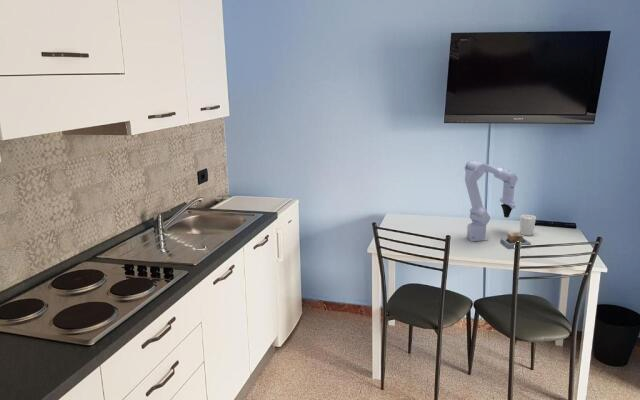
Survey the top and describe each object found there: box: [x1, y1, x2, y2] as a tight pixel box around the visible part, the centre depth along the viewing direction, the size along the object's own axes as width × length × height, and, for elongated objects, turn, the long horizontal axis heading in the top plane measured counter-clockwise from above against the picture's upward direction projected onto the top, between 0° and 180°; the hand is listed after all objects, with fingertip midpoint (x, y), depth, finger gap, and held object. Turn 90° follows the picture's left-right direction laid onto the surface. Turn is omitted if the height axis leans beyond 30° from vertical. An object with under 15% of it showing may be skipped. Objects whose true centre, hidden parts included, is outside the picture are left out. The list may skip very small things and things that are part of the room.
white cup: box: [519, 214, 537, 236], centre depth 275 cm, size 8×8×10 cm
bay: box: [499, 237, 532, 250], centre depth 260 cm, size 12×10×2 cm
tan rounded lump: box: [505, 232, 524, 244], centre depth 262 cm, size 8×5×5 cm, turn 91°
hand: (506, 217), depth 276 cm, fingers closed
